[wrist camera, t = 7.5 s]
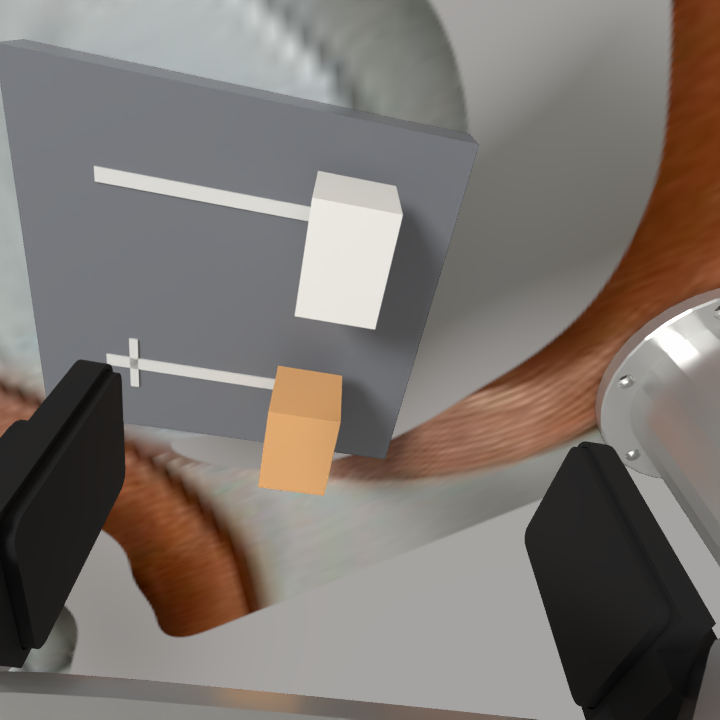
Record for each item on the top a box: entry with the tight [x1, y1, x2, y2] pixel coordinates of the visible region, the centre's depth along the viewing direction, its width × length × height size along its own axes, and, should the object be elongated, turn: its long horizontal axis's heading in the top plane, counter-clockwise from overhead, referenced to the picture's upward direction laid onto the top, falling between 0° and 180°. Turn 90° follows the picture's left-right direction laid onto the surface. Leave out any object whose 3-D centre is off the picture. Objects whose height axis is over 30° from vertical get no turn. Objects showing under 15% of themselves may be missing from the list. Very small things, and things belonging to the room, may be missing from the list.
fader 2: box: [295, 171, 403, 330], centre depth 21 cm, size 3×4×5 cm
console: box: [0, 39, 479, 459], centre depth 26 cm, size 18×17×2 cm
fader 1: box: [258, 366, 342, 496], centre depth 26 cm, size 3×4×5 cm
